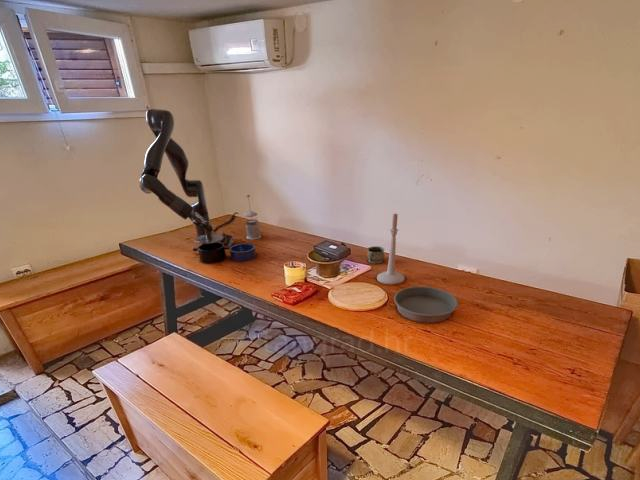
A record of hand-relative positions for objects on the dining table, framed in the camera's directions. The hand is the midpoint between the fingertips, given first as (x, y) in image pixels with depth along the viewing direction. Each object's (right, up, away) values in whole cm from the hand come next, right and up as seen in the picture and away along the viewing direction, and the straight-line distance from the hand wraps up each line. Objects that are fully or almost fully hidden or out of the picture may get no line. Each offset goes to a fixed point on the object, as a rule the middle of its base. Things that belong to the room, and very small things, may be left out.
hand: (211, 229), depth 190 cm
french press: (+15, +7, +38) cm, 41 cm away
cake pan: (+100, -46, -43) cm, 118 cm away
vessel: (+85, -16, +1) cm, 87 cm away
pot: (-2, -13, +8) cm, 16 cm away
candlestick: (+90, -29, -18) cm, 96 cm away
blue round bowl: (+14, -12, +10) cm, 21 cm away
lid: (-2, -4, +2) cm, 5 cm away
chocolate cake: (+1, -1, +26) cm, 26 cm away
